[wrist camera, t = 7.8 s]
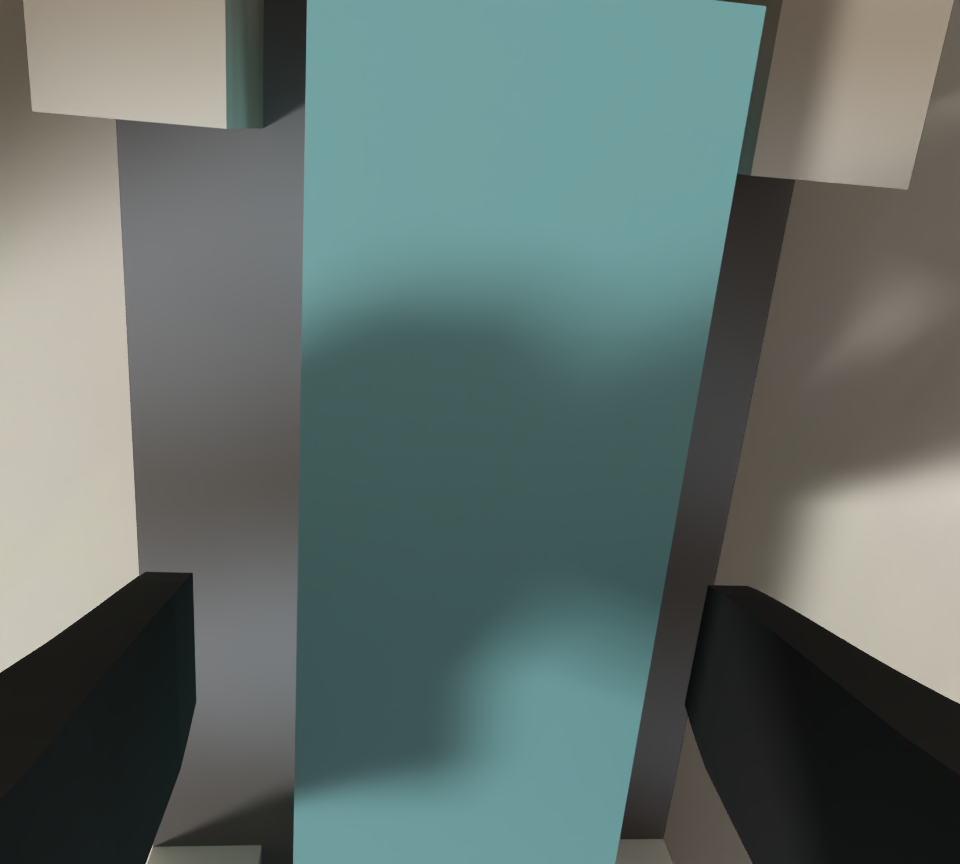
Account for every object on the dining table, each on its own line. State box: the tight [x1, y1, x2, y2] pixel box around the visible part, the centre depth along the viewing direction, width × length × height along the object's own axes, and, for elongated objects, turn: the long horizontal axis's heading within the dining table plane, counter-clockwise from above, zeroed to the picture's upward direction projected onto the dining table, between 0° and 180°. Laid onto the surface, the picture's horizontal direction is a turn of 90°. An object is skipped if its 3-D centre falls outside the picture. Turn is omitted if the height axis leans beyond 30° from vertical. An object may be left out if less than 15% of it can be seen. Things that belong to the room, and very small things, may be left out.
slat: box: [293, 0, 766, 864], centre depth 12 cm, size 16×4×5 cm, turn 175°
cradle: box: [23, 0, 954, 864], centre depth 14 cm, size 22×10×4 cm, turn 175°
